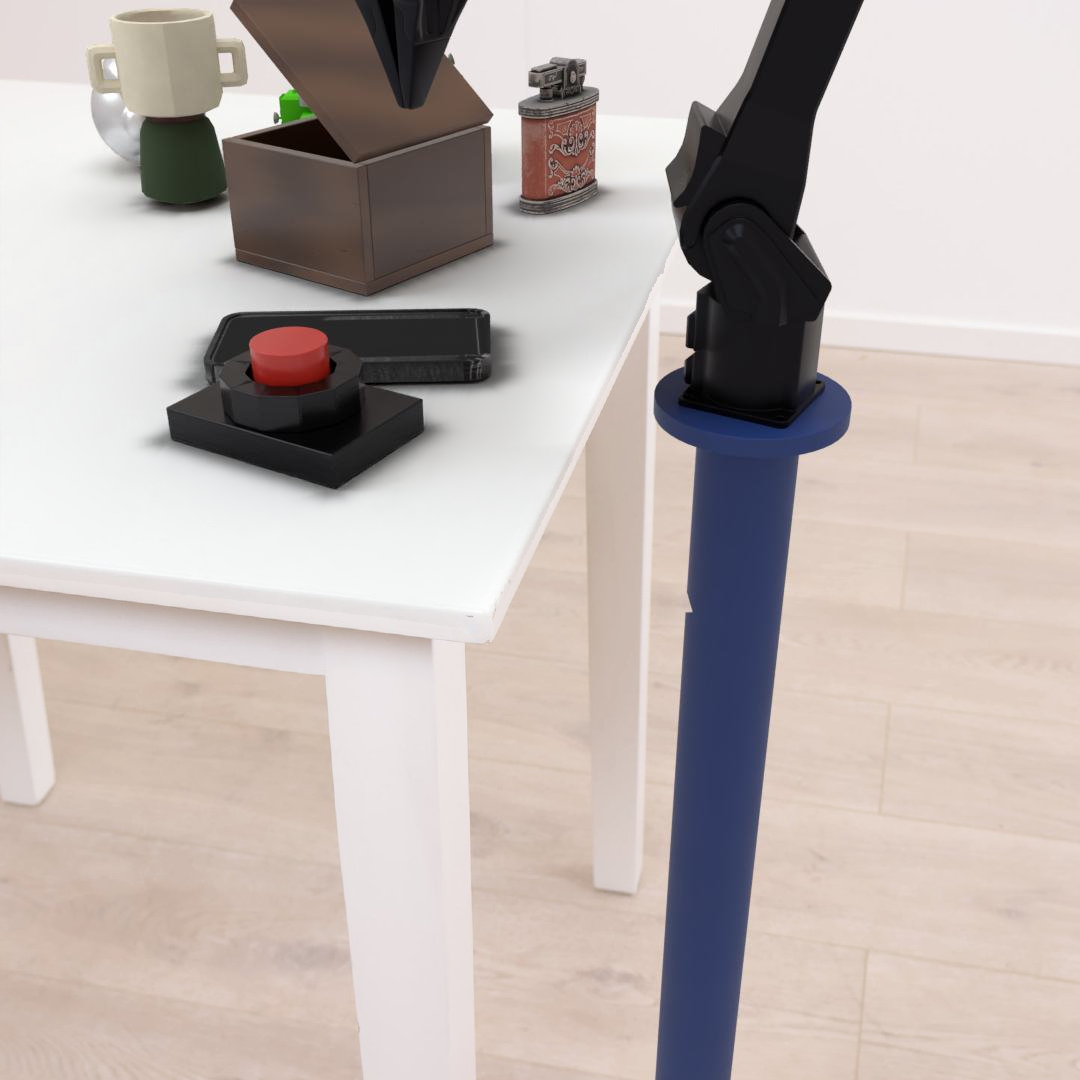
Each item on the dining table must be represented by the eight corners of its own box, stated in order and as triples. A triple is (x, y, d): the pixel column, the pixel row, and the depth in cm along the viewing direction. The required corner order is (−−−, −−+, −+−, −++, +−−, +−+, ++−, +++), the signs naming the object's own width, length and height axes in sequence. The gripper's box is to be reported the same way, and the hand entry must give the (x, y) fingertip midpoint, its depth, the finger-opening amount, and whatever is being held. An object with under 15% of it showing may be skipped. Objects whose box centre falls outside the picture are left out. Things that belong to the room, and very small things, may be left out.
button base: (425, 430, 64) (421, 363, 62) (335, 489, 58) (328, 418, 57) (267, 388, 68) (259, 324, 66) (170, 439, 63) (159, 371, 61)
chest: (236, 260, 86) (221, 139, 82) (367, 214, 94) (359, 103, 90) (366, 296, 80) (357, 167, 76) (493, 244, 89) (491, 126, 85)
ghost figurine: (78, 179, 103) (53, 45, 98) (129, 149, 111) (109, 24, 106) (187, 184, 101) (168, 48, 96) (231, 153, 109) (215, 27, 104)
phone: (490, 361, 68) (199, 365, 67) (491, 381, 68) (202, 385, 68) (490, 307, 75) (225, 310, 74) (490, 325, 75) (227, 329, 75)
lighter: (570, 184, 101) (571, 48, 96) (607, 190, 100) (610, 53, 94) (508, 208, 96) (506, 65, 90) (546, 216, 94) (546, 71, 89)
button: (346, 369, 62) (343, 335, 61) (297, 396, 59) (293, 361, 59) (287, 354, 64) (283, 321, 63) (237, 380, 61) (232, 345, 60)
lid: (229, 8, 77) (233, -3, 76) (374, -17, 85) (380, -27, 85) (353, 164, 76) (359, 155, 75) (488, 123, 85) (494, 114, 84)
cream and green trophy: (257, 182, 102) (237, 3, 95) (264, 207, 96) (244, 19, 89) (112, 192, 99) (81, 10, 93) (110, 219, 94) (77, 26, 87)
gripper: (109, -255, 57) (162, 112, 65) (436, -260, 48) (452, 171, 56) (293, -252, 65) (321, 76, 73) (606, -256, 55) (599, 121, 63)
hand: (411, 107), depth 66 cm, fingers closed
